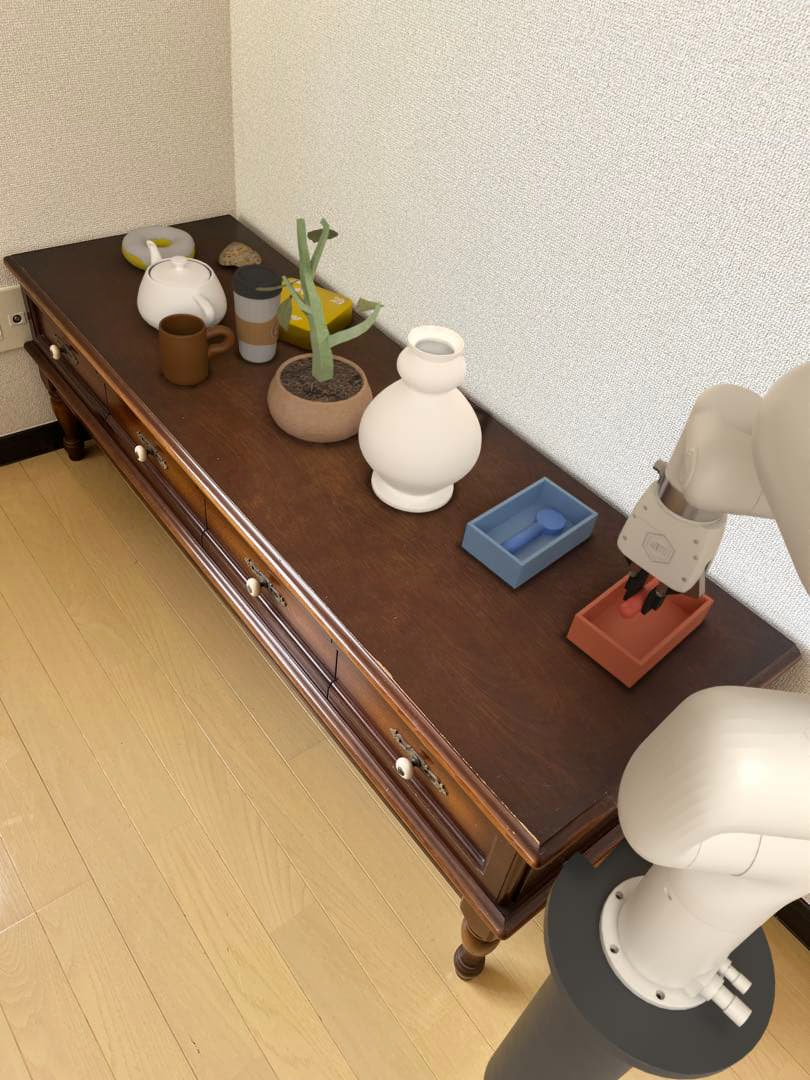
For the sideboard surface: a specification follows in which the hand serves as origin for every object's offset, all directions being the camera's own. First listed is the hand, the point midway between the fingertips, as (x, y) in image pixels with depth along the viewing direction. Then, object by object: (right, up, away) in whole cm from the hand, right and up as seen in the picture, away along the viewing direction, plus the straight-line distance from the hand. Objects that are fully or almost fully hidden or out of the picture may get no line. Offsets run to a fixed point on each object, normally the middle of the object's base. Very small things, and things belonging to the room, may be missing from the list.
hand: (640, 601), depth 102 cm
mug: (-64, +36, +37) cm, 82 cm away
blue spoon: (-12, +8, +16) cm, 21 cm away
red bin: (+1, -4, +7) cm, 8 cm away
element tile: (-49, +48, +52) cm, 86 cm away
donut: (-79, +64, +63) cm, 119 cm away
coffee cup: (-55, +41, +43) cm, 81 cm away
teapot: (-70, +48, +48) cm, 98 cm away
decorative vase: (-28, +16, +23) cm, 40 cm away
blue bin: (-12, +7, +17) cm, 22 cm away
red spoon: (+2, +1, +2) cm, 3 cm away
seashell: (-63, +64, +66) cm, 112 cm away
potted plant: (-45, +30, +34) cm, 63 cm away
